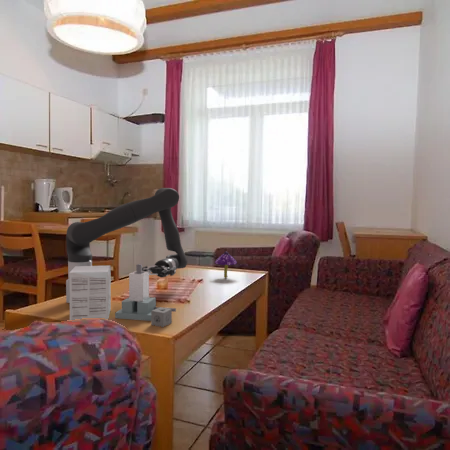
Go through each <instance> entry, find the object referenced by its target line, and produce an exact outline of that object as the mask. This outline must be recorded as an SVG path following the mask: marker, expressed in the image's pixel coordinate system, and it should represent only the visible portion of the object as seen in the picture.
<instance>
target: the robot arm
mask: <svg viewBox="0 0 450 450" xmlns="http://www.w3.org/2000/svg"><path fill="white" fill-rule="evenodd" d="M179 201H180V195H179V192H178V191H177V190H176V189H174V188H171V187H161V188H158V189H157V190H156V191H155V193H154V195H153V196H150V197H146V198H141V199H137V200H134V201H133V200H132V201H130V202H127V203H123V204H121V205H118V206H117V207H115V208H112V209H111V210H110V211H108V212H107V213H105V214H104V215H102V216H100V217H97V218H95V219H91V220H89V221H84V222H83V221H76V222H72V223H71V224H69V226H68V227H67V230H66V234H65V235H66V236H65V237H66V253H67V254H66V255H67V258H68V259H67V263H68V264H67V265H68V266H67V267H68V269H67V271H68V272H67V273H68V275H67V276H68V279H67V278H66V281H65V285H66V287H65V290H66V291H65V292H66V293H65V298H66V301H65V303H66V304H67V303H68V304H70V287H69V272H70V271H71V270H72V269H73V268H74V267H75V266H93V254H92V252H91V248H90V245H91V244H90V243H92V242H94V241H95V240H97V239H100V238H101V237H103V236H104V235H105V236H106V234H108V233H109V234H110V233H111V232H115V231H117V230H120V229H123V228H126V227H128V226H130V225H133V224H134V223H135V224H136V223H137V222H139V221H142V220H143V219H146V218H147V217H149V216H151V215H153V214H156V213H158V214H159V217H160V220H161V225H162V229H163V235H164V239H165V240H164V241H165V246H166V249H167V251H170V252H175V253H176V254H168V255H166V257H165V258H162V259H160V260H158V261H156V262H155V263H154V265H151V266H148V265H146V266H142V271H143V272H149V276H157V277H159V278H166V277H167V276H170V277H173V276H174V275H175V274H177V273H176V272H177V269H184V268H186V267H187V265H188V258H187V255H186V254H185V251H184V249H183V247H182V243H181V238H180V236H181V235H180V232H179V229H178V226H177V224H176V222H175V220H174V219H175V218H174V217H173V213H172V208H174V207H175V206H176V205H177V204H178V203H179Z"/></svg>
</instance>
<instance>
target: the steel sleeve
mask: <svg viewBox="0 0 450 450" xmlns="http://www.w3.org/2000/svg"><path fill="white" fill-rule="evenodd" d="M128 281H129V282H128V284H129V285H128V291H129V292H128V295H129V296H128V298H129V301H138V302H144V301H145V300H147V299H148V298H149V297H150V275H149V272H143V271H142V274H137V273H136V270H135V271H132V272H130V273H128Z"/></svg>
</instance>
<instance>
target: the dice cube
mask: <svg viewBox="0 0 450 450" xmlns="http://www.w3.org/2000/svg"><path fill="white" fill-rule="evenodd" d="M158 307H159V308H157V309H155V310H152V311H151V321H150V323H151V324H150V325H151V326H154V325H155V327H160V326H161V328H164V326H165V327H166V325H167V326H168V325H169V326H170V325H171V324H172V320H173V318H172V316H173V315H172V314H173V313H172V312H173V311H172V309H167V308H168V307H164V308H161V307H160V306H158Z"/></svg>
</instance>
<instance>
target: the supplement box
mask: <svg viewBox="0 0 450 450" xmlns="http://www.w3.org/2000/svg"><path fill="white" fill-rule="evenodd" d="M111 276H112V275H111V265H92V266H75V267H74V268H73V269H72V270H71V271H70V272H69V287H70V303H69V321H70V320H75V319H82V318H105V319H108V320H109V317H110V313H111V307H112V305H111V303H112V302H111V299H112V298H111V297H112V296H111V294H112V293H111V284H112V283H111V279H112V278H111Z"/></svg>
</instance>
